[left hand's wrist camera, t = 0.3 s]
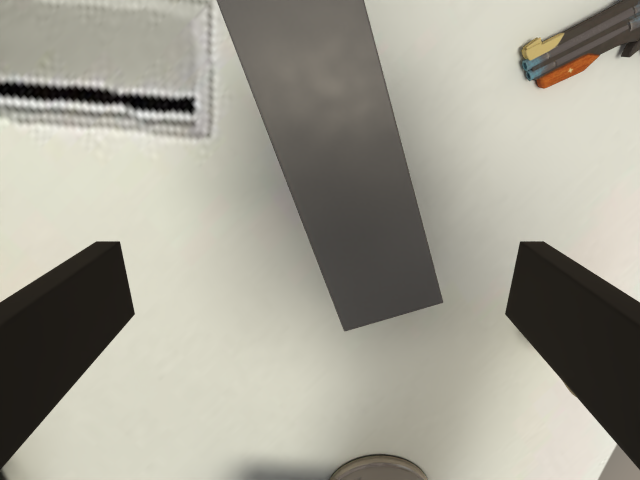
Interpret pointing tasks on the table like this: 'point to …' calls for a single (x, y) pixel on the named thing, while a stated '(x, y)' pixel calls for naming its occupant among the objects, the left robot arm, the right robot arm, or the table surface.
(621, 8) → the toy gun
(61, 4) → the table surface
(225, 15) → the thick board
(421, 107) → the table surface
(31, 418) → the left robot arm
